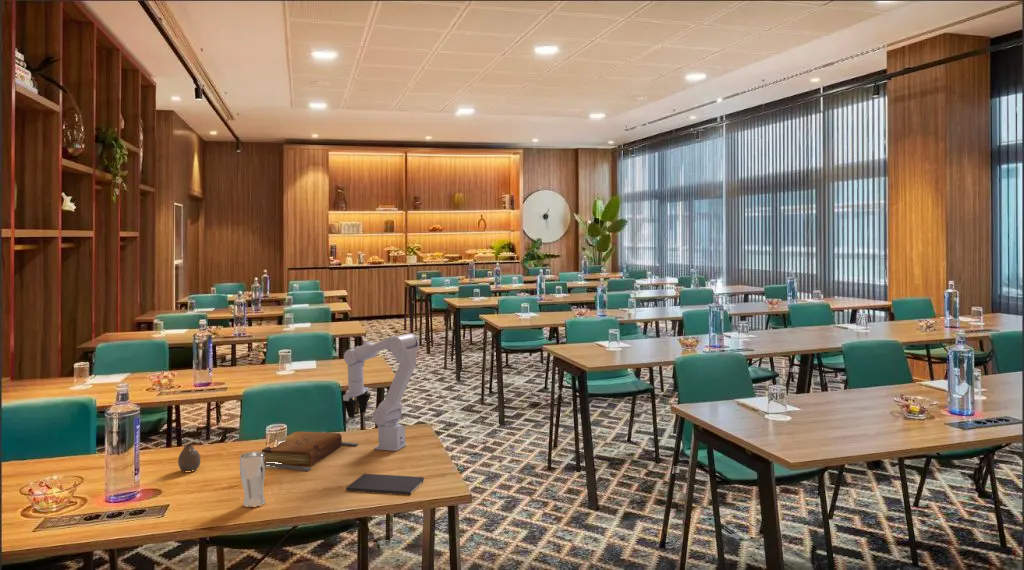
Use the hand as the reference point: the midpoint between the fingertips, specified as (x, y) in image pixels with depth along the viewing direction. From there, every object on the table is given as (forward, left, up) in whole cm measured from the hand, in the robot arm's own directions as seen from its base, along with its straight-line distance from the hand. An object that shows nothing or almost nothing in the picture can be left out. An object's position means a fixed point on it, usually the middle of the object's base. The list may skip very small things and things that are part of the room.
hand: (357, 415), depth 264 cm
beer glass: (-5, +63, -11) cm, 64 cm away
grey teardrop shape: (+38, +45, -11) cm, 60 cm away
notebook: (-35, +38, -11) cm, 53 cm away
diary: (+10, +20, -11) cm, 25 cm away
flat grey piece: (+11, +19, -10) cm, 24 cm away
